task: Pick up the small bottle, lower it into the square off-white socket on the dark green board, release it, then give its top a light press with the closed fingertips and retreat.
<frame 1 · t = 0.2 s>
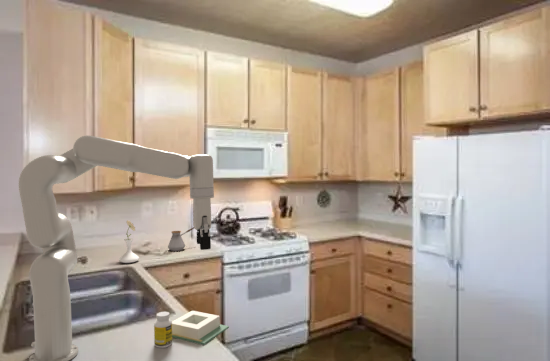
hand: (203, 246, 122), 30 cm above the worktop, tool pointing down, fingers open, 9 cm apart
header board: (195, 331, 129), on the worktop
coffee pot: (183, 249, 263), on the worktop
supplement bottle: (163, 345, 120), on the worktop
flower in vase: (129, 262, 229), on the worktop
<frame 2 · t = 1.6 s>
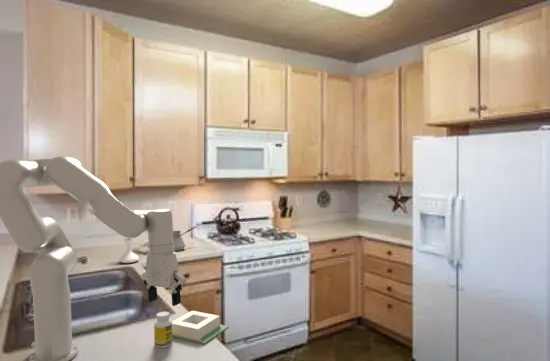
hand: (164, 302, 120), 13 cm above the worktop, tool pointing down, fingers open, 9 cm apart
nothing on the worktop moved.
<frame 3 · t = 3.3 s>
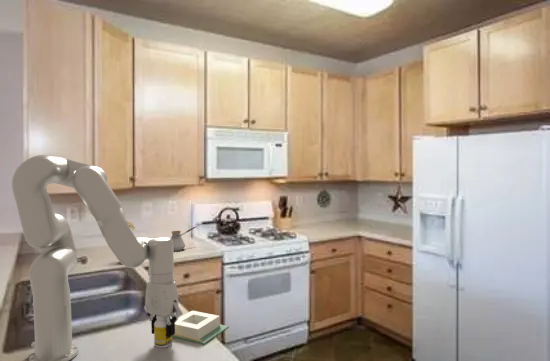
hand: (163, 333, 120), 4 cm above the worktop, tool pointing down, fingers closed on supplement bottle, 5 cm apart
supplement bottle: (163, 344, 120), on the worktop, touching gripper
everything else where it was.
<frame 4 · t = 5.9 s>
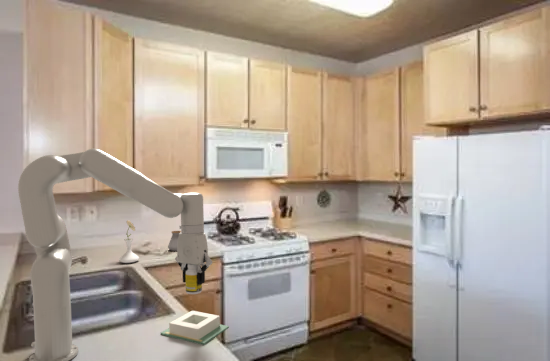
hand: (193, 281, 129), 17 cm above the worktop, tool pointing down, fingers closed on supplement bottle, 5 cm apart
supplement bottle: (194, 292, 129), point 13 cm above the worktop, touching gripper
everything else where it was.
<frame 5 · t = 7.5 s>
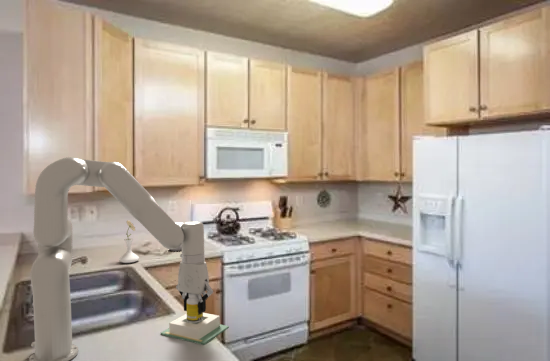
hand: (194, 310, 129), 7 cm above the worktop, tool pointing down, fingers closed on supplement bottle, 5 cm apart
supplement bottle: (195, 321, 129), point 3 cm above the worktop, touching gripper
everything else where it was.
when the fingers open (5 cm above the worktop, at t = 8.7 s): supplement bottle drops 1 cm, resting on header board.
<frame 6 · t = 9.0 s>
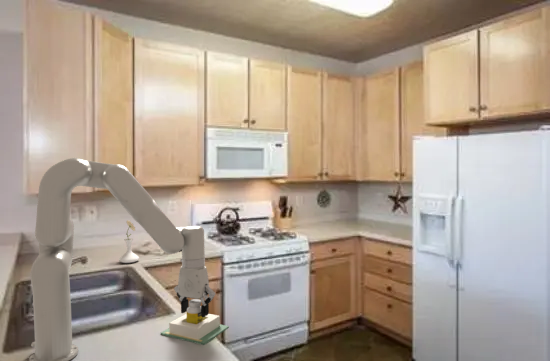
hand: (194, 313, 129), 6 cm above the worktop, tool pointing down, fingers open, 8 cm apart
supplement bottle: (194, 329, 129), resting on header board
everything else where it was.
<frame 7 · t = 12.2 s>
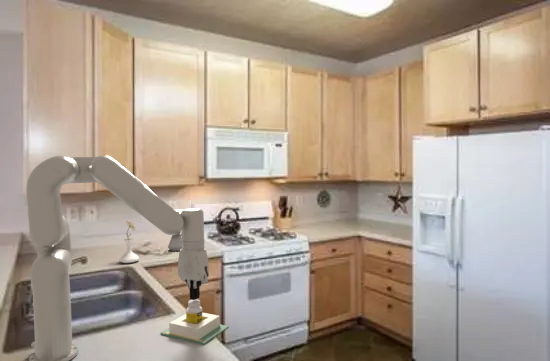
hand: (194, 298, 129), 11 cm above the worktop, tool pointing down, fingers closed
nothing on the worktop moved.
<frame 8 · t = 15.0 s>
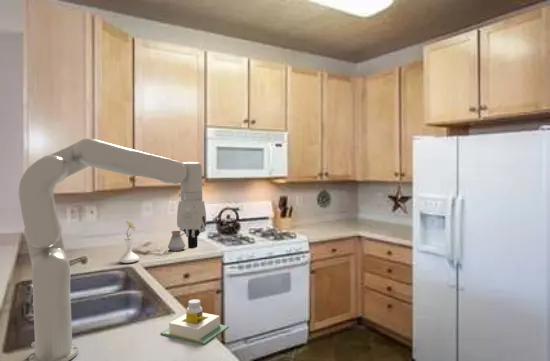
hand: (192, 247, 136), 27 cm above the worktop, tool pointing down, fingers closed
nothing on the worktop moved.
at the end: supplement bottle 0.2 cm off-centre on the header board, point 0.4 cm above the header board's base; supplement bottle tilted 0°; the gripper is holding nothing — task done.
